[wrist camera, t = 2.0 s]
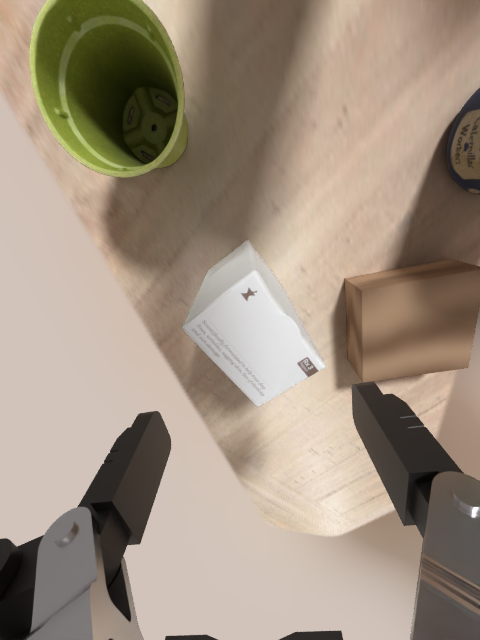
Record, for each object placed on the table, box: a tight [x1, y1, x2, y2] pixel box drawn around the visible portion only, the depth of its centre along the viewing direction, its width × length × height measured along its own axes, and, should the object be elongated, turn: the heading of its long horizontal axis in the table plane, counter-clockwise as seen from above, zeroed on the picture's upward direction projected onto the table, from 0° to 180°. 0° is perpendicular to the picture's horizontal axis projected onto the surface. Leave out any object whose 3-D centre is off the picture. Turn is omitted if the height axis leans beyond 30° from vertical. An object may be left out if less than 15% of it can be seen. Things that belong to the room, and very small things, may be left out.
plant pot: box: [29, 0, 188, 178], centre depth 19 cm, size 9×9×9 cm
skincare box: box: [182, 240, 326, 406], centre depth 22 cm, size 8×6×15 cm
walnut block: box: [345, 259, 480, 383], centre depth 28 cm, size 11×11×5 cm
